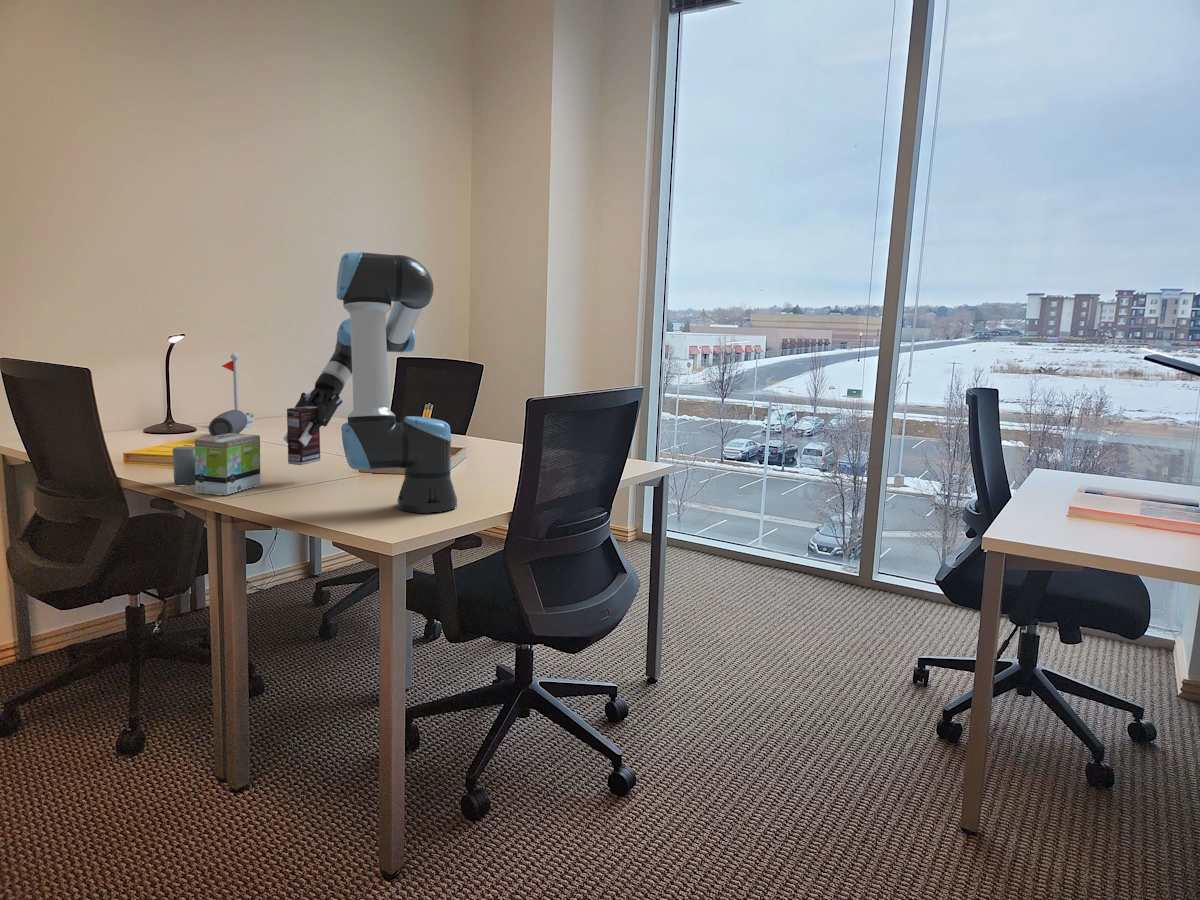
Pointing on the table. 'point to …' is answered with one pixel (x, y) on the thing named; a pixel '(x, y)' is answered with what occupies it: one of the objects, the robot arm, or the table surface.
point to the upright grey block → (184, 465)
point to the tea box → (227, 463)
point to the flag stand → (233, 367)
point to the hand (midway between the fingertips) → (294, 442)
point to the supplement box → (296, 427)
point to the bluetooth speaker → (228, 423)
